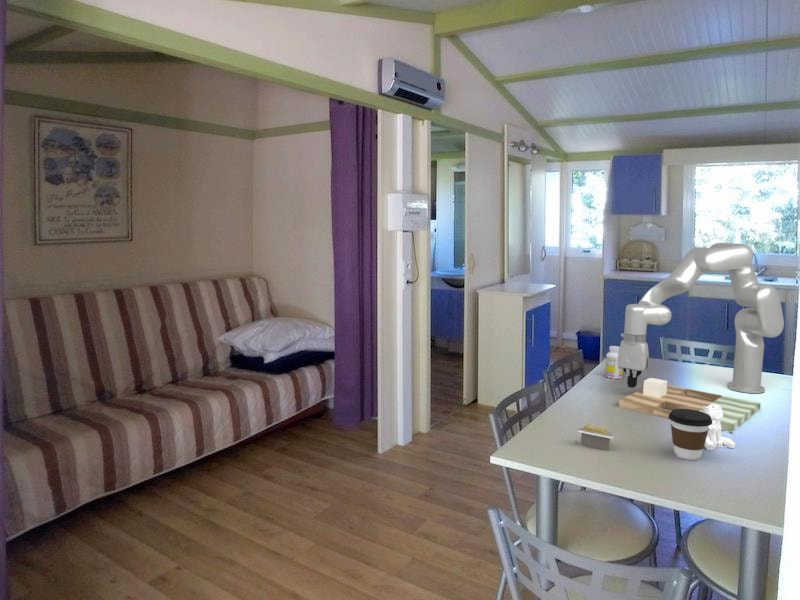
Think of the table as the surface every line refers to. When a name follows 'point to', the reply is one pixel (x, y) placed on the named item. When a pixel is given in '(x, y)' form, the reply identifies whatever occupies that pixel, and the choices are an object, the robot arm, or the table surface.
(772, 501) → the table surface
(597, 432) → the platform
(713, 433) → the white creature statuette
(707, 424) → the coffee cup
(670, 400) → the board
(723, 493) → the table surface
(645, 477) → the table surface
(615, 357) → the supplement bottle
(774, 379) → the table surface
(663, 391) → the block
